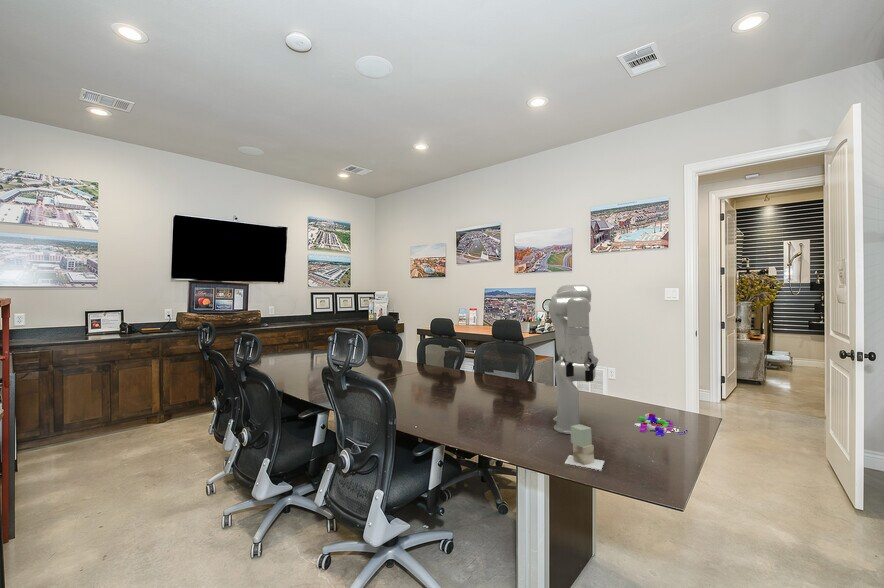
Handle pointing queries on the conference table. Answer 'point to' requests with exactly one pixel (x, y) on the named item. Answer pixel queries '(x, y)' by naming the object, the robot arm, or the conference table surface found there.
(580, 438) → the sage block
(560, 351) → the robot arm
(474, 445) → the conference table surface
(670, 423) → the building block set
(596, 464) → the external hard drive
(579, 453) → the birch block
